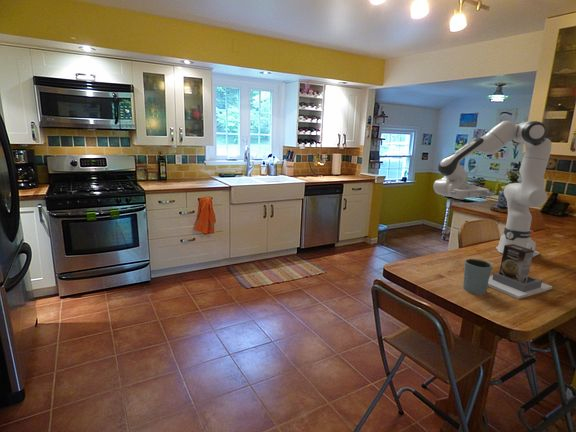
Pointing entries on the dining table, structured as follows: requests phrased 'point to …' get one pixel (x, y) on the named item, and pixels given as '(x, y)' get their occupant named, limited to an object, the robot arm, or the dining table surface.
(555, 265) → the dining table surface
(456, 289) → the dining table surface
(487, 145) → the robot arm
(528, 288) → the white base plate
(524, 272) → the coffee box
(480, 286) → the ceramic plant pot
